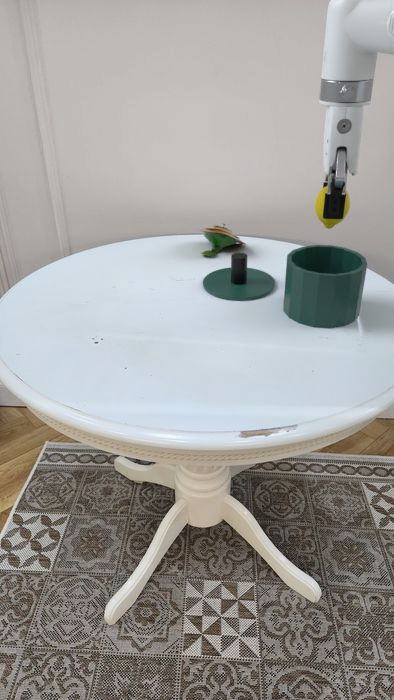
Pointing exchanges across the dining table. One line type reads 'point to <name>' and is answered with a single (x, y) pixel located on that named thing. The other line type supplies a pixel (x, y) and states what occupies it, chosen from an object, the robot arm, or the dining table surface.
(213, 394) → the dining table surface
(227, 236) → the green brown turtle figurine
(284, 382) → the dining table surface
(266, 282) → the lid
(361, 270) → the pot
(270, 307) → the dining table surface
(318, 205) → the fruit
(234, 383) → the dining table surface
